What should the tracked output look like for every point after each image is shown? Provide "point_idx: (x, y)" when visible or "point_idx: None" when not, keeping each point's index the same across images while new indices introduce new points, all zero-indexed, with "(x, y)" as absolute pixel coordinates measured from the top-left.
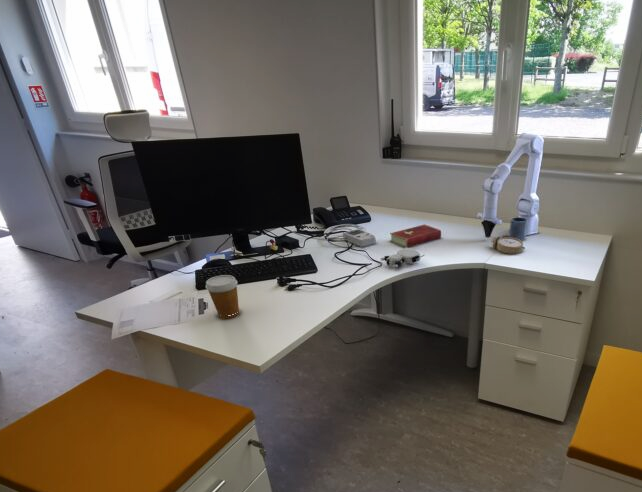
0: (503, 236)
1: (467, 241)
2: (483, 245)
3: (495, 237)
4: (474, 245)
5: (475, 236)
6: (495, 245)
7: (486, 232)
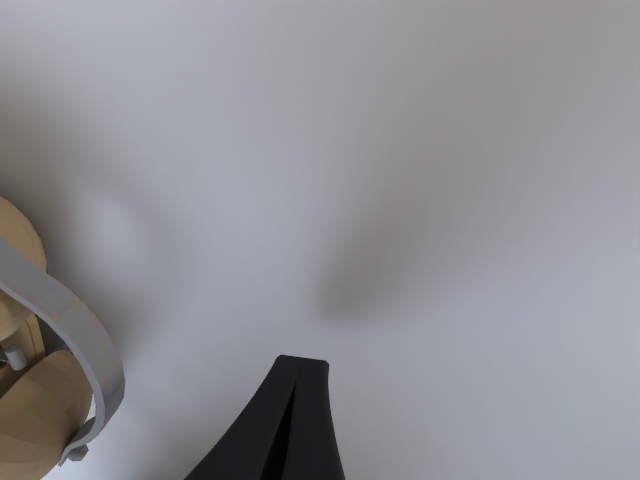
0: (38, 460)
1: (547, 73)
2: (181, 154)
3: (95, 387)
4: (266, 11)
5: (591, 361)
6: (44, 256)
7: (263, 421)
